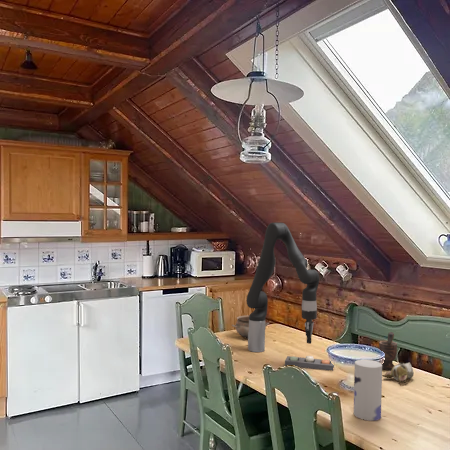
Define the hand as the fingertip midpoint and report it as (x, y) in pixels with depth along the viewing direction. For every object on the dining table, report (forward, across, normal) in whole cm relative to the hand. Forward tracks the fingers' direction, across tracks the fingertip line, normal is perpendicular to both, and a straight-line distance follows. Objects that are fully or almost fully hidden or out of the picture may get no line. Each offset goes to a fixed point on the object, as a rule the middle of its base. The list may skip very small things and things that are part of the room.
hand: (309, 343), depth 240 cm
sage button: (+11, -1, -8) cm, 13 cm away
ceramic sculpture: (+13, +6, +43) cm, 46 cm away
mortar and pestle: (+12, -9, +39) cm, 42 cm away
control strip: (+12, -1, 0) cm, 12 cm away
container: (+13, +54, +29) cm, 63 cm away
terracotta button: (+11, -1, +8) cm, 14 cm away
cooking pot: (+11, -46, -42) cm, 63 cm away
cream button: (+10, -1, 0) cm, 10 cm away
